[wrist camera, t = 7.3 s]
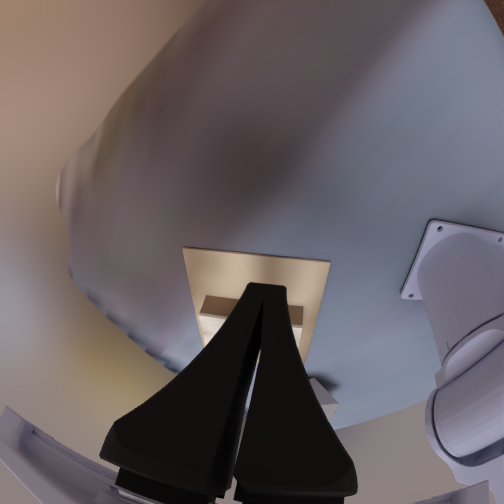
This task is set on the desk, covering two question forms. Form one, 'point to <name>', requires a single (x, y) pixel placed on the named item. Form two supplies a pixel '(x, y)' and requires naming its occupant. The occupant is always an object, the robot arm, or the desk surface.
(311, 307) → the light wood board
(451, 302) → the robot arm
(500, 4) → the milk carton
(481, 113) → the desk surface
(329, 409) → the die
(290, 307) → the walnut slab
